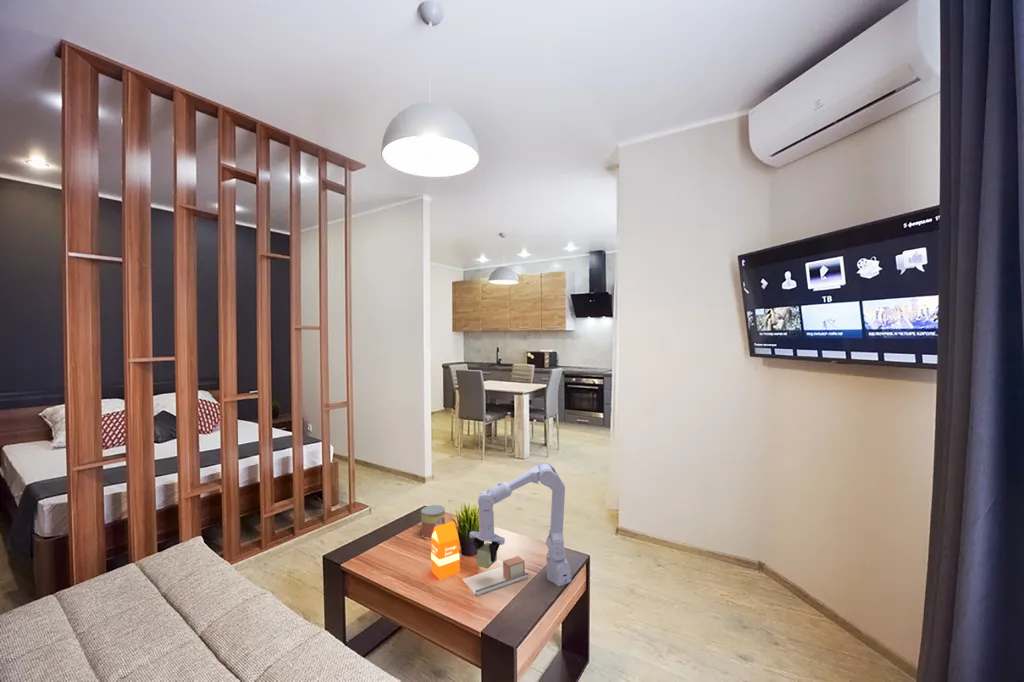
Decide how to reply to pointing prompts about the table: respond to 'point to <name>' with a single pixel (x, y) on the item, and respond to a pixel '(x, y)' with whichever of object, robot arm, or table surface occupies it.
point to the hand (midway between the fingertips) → (487, 559)
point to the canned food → (432, 519)
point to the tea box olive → (484, 556)
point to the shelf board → (490, 581)
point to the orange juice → (445, 551)
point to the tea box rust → (513, 567)
